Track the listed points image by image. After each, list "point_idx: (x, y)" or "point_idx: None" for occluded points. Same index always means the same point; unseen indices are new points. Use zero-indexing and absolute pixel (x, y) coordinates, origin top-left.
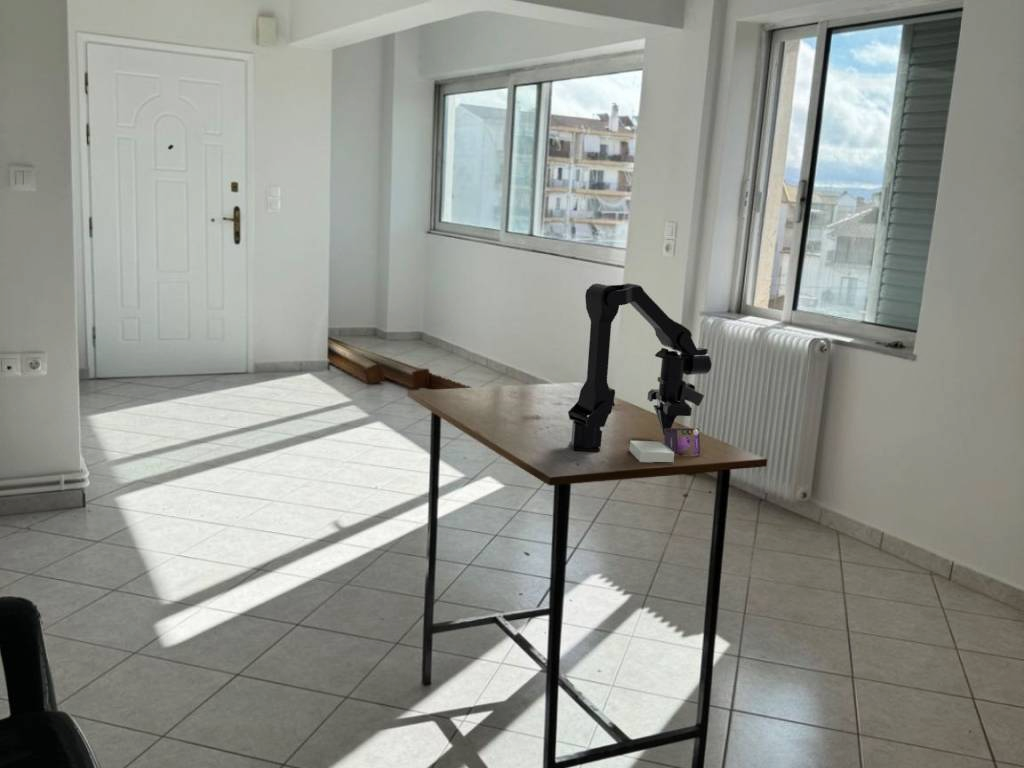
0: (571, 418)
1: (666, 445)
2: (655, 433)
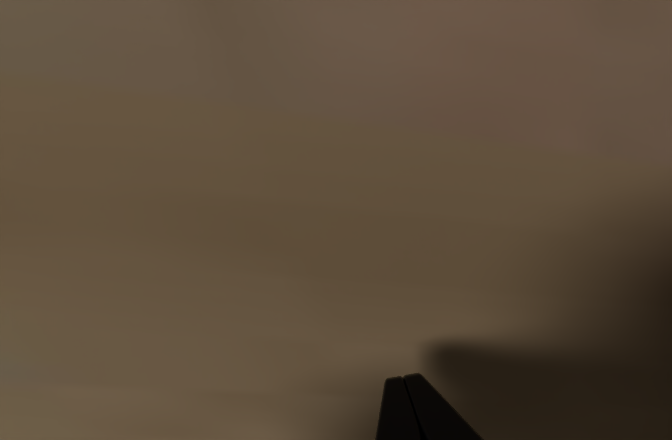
0: None
1: None
2: (111, 389)
